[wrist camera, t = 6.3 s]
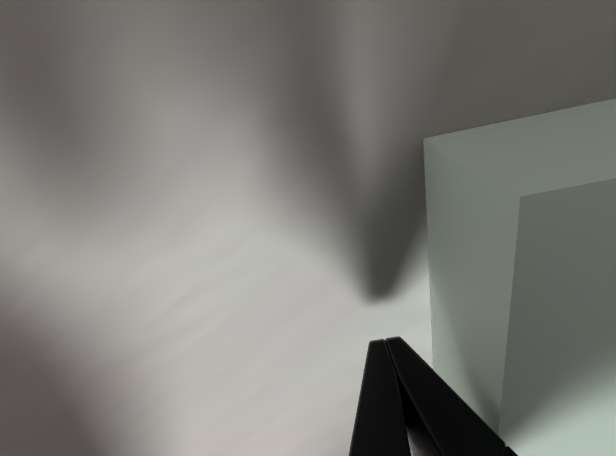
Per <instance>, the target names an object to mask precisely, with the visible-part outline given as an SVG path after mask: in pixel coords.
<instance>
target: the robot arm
mask: <svg viewBox="0 0 616 456" xmlns="http://www.w3.org/2000/svg"><path fill="white" fill-rule="evenodd" d="M408 439H409V441H408ZM409 442H410V445H411V447H412V450H413V453H414V455H415V456H518V455H517V454H516V453H515V452H514V451H513V450H512V449H511V448H510V447H509V446H506V443H505V442H504V441H503V440H502V439H501V438H500V437H499V436H498V435H497V434H496V433H495V432H494V431H493V430H492V429H491V428H490V427H489V426H488V425H487V424H486V423H485V422H484V421H483V420H482V419H481V418H480V417H479V416H478V415H477V414H476V413H475V412H474V411H473V410H472V409H471V408H470V407H469V406H468V405H467V403H466V402H465V401H464V400H463V399H462V398H461V397H460V396H459V395H458V394H457V393H456V392H455V391H454V390H453V389H452V388H451V387H450V386H449V385H448V384H447V383H446V382H445V381H444V380H443V379H442V378H441V377H440V376H439V375H438V374H437V373H436V372H435V371H434V370H433V369H432V368H431V367H430V366H429V365H428V364H427V363H426V362H425V361H424V360H423V359H422V358H421V357H420V356H419V355H418V354H417V353H416V352H415V351H414V350H413V349H412V348H411V347H410V346H409V345H408V344H407V343H406V342H405V341H404V340H403V339H402V338H401V337H391V338H386V339H385V340H384V339H379V340H373V341H370V343H369V346H368V352H367V357H366V363H365V369H364V374H363V380H362V385H361V391H360V396H359V402H358V407H357V413H356V418H355V424H354V429H353V435H352V441H351V446H350V452H349V456H411V453H410V447H409Z"/></svg>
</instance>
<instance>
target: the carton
mask: <svg viewBox="0 0 616 456" xmlns="http://www.w3.org/2000/svg"><path fill="white" fill-rule="evenodd" d="M423 147H424V169H425V192H426V214H427V237H428V259H429V281H430V304H431V326H432V349H433V370H434V371H435V372H436V373H437V374H438V375H439V376H440V377H441V378H442V379H443V380H444V381H445V382H446V383H447V384H448V385H449V386H450V387H451V388H452V389H453V390H454V391H455V392H456V393H457V394H458V395H459V396H460V397H461V398H462V399H463V400H464V401H465V402H466V403H467V405H468V406H469V407H470V408H471V409H472V410H473V411H474V412H475V413H476V414H477V415H478V416H479V417H480V418H481V419H482V420H483V421H484V422H485V423H486V424H487V425H488V426H489V427H490V428H491V429H492V430H493V431H494V432H495V433H496V434H497V435H498V436H499V437H500V438H501V439H502V440H503V441H504V442H505V443H506V446H509V447H510V448H511V449H512V450H513V451H514V452H515V453H516V454H517V455H518V456H616V98H614V99H610V100H605V101H600V102H595V103H590V104H586V105H581V106H576V107H571V108H566V109H562V110H557V111H552V112H547V113H543V114H538V115H533V116H528V117H523V118H519V119H514V120H509V121H504V122H499V123H495V124H490V125H485V126H480V127H475V128H471V129H466V130H461V131H456V132H451V133H447V134H442V135H437V136H432V137H427V138H423Z"/></svg>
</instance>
